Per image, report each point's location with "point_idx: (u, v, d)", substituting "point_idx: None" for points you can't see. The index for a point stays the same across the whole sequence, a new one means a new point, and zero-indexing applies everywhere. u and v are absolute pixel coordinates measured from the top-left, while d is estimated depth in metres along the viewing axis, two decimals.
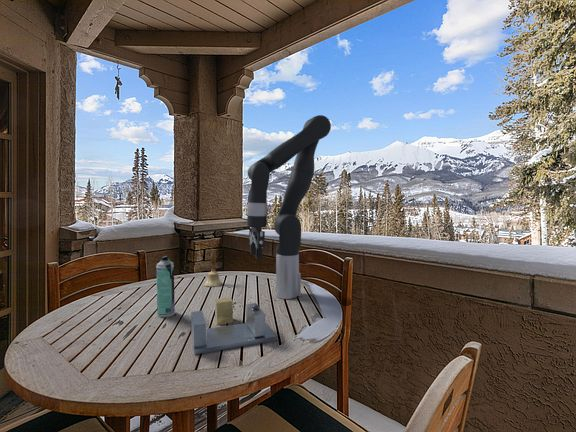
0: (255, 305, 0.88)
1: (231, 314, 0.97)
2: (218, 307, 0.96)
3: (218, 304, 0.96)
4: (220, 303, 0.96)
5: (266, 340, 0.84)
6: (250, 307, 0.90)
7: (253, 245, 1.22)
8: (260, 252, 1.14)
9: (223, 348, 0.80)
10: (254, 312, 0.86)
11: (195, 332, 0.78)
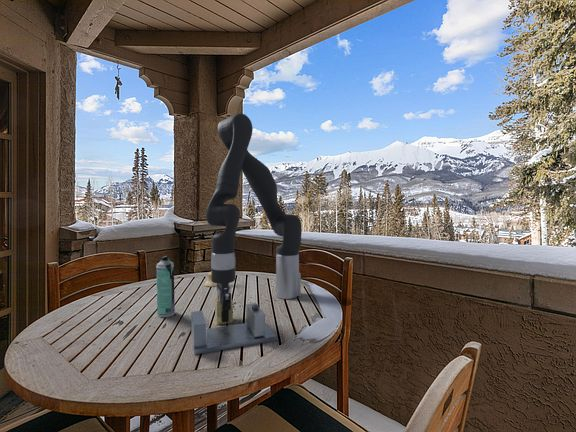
0: (255, 305, 0.88)
1: (231, 314, 0.97)
2: (218, 307, 0.96)
3: (218, 304, 0.96)
4: (220, 303, 0.96)
5: (266, 340, 0.84)
6: (250, 307, 0.90)
7: None
8: (226, 315, 0.95)
9: (223, 348, 0.80)
10: (254, 312, 0.86)
11: (195, 332, 0.78)
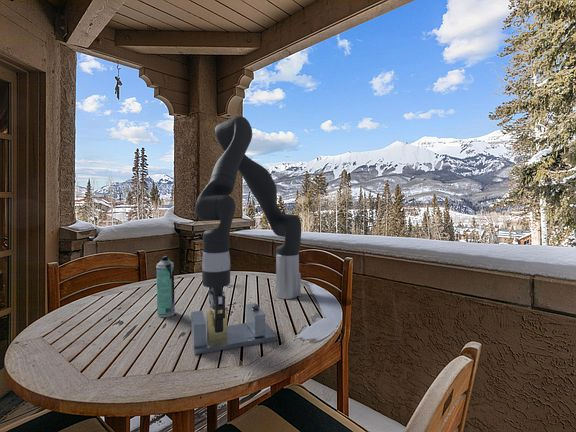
0: (255, 305, 0.88)
1: (225, 328, 0.84)
2: (210, 320, 0.82)
3: (210, 316, 0.82)
4: (212, 315, 0.82)
5: (266, 340, 0.84)
6: (250, 307, 0.90)
7: None
8: (220, 324, 0.80)
9: (223, 348, 0.80)
10: (254, 312, 0.86)
11: (195, 332, 0.78)
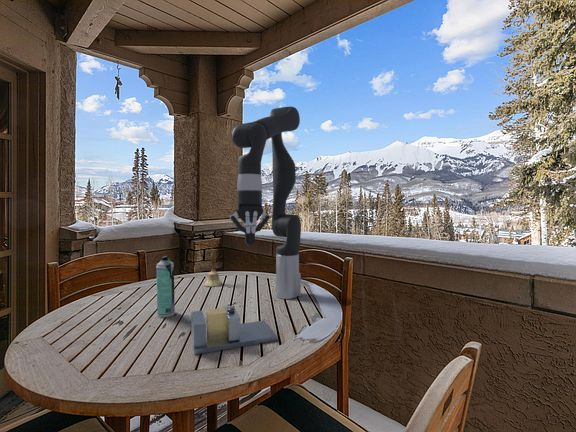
0: (231, 308, 0.86)
1: (225, 328, 0.84)
2: (210, 320, 0.82)
3: (210, 316, 0.82)
4: (211, 315, 0.82)
5: (266, 340, 0.84)
6: (226, 310, 0.87)
7: None
8: (245, 238, 0.94)
9: (223, 348, 0.80)
10: (229, 315, 0.83)
11: (195, 332, 0.78)
